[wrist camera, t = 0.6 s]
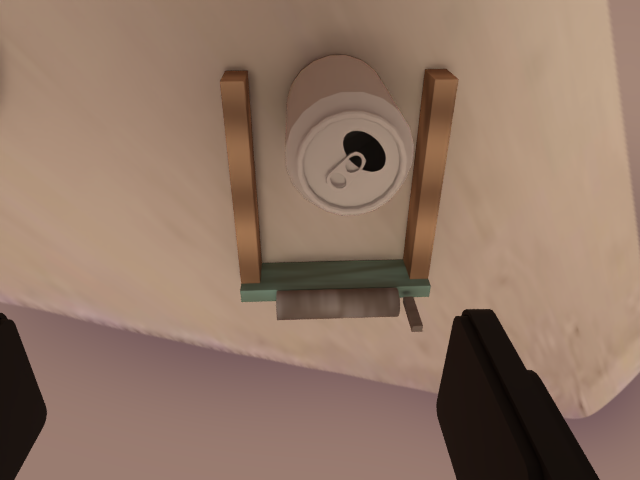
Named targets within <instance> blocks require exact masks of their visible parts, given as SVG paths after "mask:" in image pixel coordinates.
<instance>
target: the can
mask: <svg viewBox="0 0 640 480" xmlns="http://www.w3.org/2000/svg"><path fill="white" fill-rule="evenodd" d="M413 152H414V143H413V139H412V134H411V130H410V127H409V125H408V123H407V122H406V120H405V118H404V117H403V115H402V113H401V112H400V110H399V108H398V107H397V105H396V104H395V102H394V100H393V99H392V97H391V95H390V94H389V92H388V90H387V89H386V87H385V85H384V84H383V82H382V81H381V79H380V78H379V76H378V74H377V73H376V71H375V70H374V69H372V68H371V67H370V66H369V65H367V64H366V63H365V62H363V61H362V60H359V59H356V58H353V57H350V56H348V55H329V56H327V57H324V58H321V59H318V60H315V61H313V62H312V63H311V64H309V65H308V66H307V67H305V68H304V69H303V70H302V71H300V73H299V74H298V76H297V77H296V79H295V80H294V82H293V83H292V85H291V88H290V92H289V95H288V98H287V112H286V138H285V157H286V169H287V171H288V174H289V176H290V179H291V181H292V184H293V185H294V187H295V188H296V189H297V190H298V191H299V192H300V194H301V195H302V196H303V197H304V198H305V199H306V200H308V201H310V202H311V203H313V204H314V205H316V206H318V207H319V208H322V209H323V210H325V211H327V212H331V213H334V214H338V215H342V216H343V215H361V214H364V213H367V212H371V211H374V210H376V209H377V208H379V207H381V206H382V205H384V204H385V203H387V202H388V201H389V200H390V199H391V198H392V197H393V196H394V195H395V194H396V193H397V191H398V190H399V189H400V187H401V185H402V184H403V183H404V182H405V179H406V177H407V175H408V173H409V171H410V168H411V166H412V161H413Z"/></svg>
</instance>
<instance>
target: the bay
mask: <svg viewBox="0 0 640 480" xmlns="http://www.w3.org/2000/svg"><path fill="white" fill-rule="evenodd" d="M457 85H458V79H457V78H456V77H455V76H454V75H453V74H452V73H450V72H449V71H448V70H447V69H425V75H424V83H423V92H422V101H421V109H420V118H419V127H418V135H417V144H416V153H415V161H414V170H413V179H412V187H411V196H410V205H409V213H408V222H407V230H406V239H405V248H404V256H403V260H368V261H328V262H287V263H262V257H261V244H260V231H259V217H258V204H257V191H256V177H255V164H254V151H253V137H252V124H251V111H250V97H249V84H248V71H225V73H224V75H223V77H222V79H221V81H220V87H221V96H222V106H223V115H224V125H225V134H226V143H227V153H228V162H229V172H230V181H231V191H232V200H233V210H234V219H235V228H236V238H237V247H238V257H239V266H240V276H241V289H240V293H241V302H259V301H276V311H277V320H296V319H329V318H363V317H396V316H399V312H400V298H401V297H404V298H403V304H404V307H405V311H406V314H407V317H408V321H409V324H410V327H411V331H412V332H422V328H423V325H422V322H421V319H420V316H419V313H418V310H417V307H416V304H415V301H414V298H413V297H429V293H430V287H431V285H430V283H429V280H428V275H429V269H430V262H431V255H432V249H433V242H434V236H435V229H436V223H437V216H438V210H439V203H440V197H441V190H442V184H443V177H444V170H445V164H446V157H447V151H448V144H449V138H450V131H451V125H452V118H453V112H454V105H455V99H456V92H457Z"/></svg>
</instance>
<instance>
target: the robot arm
mask: <svg viewBox="0 0 640 480" xmlns="http://www.w3.org/2000/svg"><path fill="white" fill-rule="evenodd" d="M46 415H47V410H46V406H45V403H44V400H43V397H42V395H41V392H40V390H39V387H38V384H37V382H36V379H35V376H34V373H33V371H32V368H31V365H30V363H29V360H28V357H27V355H26V352H25V349H24V347H23V344H22V341H21V339H20V336H19V333H18V331H17V328H16V325H15V323H14V322H13V321H12V320H8V319H7V317H6V316H5V315H4V314H3V313H0V480H14V479H15V477H16V476H17V474H18V472H19V470H20V468H21V466H22V465H23V463H24V461H25V459H26V457H27V455H28V454H29V452H30V450H31V448H32V446H33V444H34V443H35V441H36V439H37V437H38V435H39V434H40V432H41V430H42V428H43V426H44V424H45V421H46ZM437 416H438V420H439V423H440V427H441V430H442V433H443V436H444V440H445V443H446V446H447V449H448V453H449V456H450V459H451V462H452V466H453V469H454V472H455V475H456V479H457V480H600V479H599V478H598V476H597V474H596V473H595V471H594V469H593V467H592V466H591V464H590V463H589V461H588V459H587V457H586V455H585V454H584V452H583V450H582V449H581V447H580V445H579V443H578V442H577V440H576V438H575V437H574V435H573V433H572V432H571V430H570V428H569V427H568V425H567V423H566V421H565V420H564V418H563V416H562V414H561V413H560V411H559V409H558V408H557V406H556V404H555V403H554V401H553V399H552V397H551V396H550V394H549V392H548V391H547V389H546V387H545V385H544V384H543V382H542V380H541V379H540V377H539V376H538V375H537V373H535V372H534V371H532V370H527V369H526V368H525V366H524V364H523V362H522V361H521V359H520V357H519V355H518V353H517V352H516V350H515V348H514V346H513V345H512V343H511V341H510V339H509V338H508V336H507V334H506V332H505V330H504V329H503V327H502V325H501V323H500V322H499V320H498V318H497V316H496V314H495V313H494V312H493V310H491V309H466V310H464V311H463V312H462V315H461V316H456V317H455V318H454V321H453V325H452V330H451V335H450V340H449V345H448V349H447V354H446V359H445V364H444V369H443V374H442V379H441V383H440V388H439V393H438V398H437Z"/></svg>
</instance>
